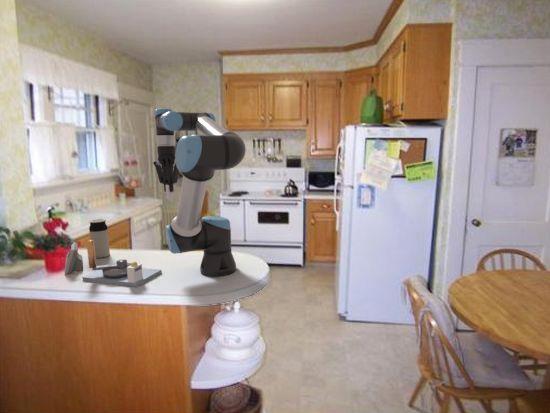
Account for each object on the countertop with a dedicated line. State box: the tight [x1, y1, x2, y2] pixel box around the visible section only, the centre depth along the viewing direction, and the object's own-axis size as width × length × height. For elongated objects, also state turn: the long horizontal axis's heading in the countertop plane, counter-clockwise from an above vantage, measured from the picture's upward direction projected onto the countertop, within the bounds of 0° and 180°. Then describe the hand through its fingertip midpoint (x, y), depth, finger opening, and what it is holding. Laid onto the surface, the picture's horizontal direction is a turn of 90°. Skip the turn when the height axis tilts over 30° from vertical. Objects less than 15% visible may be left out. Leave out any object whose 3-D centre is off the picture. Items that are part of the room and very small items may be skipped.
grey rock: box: [64, 241, 84, 275], centre depth 167 cm, size 16×9×11 cm, turn 16°
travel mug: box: [88, 218, 111, 259], centre depth 185 cm, size 8×8×18 cm
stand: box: [82, 261, 163, 288], centre depth 155 cm, size 26×16×9 cm, turn 72°
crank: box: [86, 239, 132, 278], centre depth 154 cm, size 17×12×14 cm
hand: (169, 199), depth 169 cm, fingers closed
